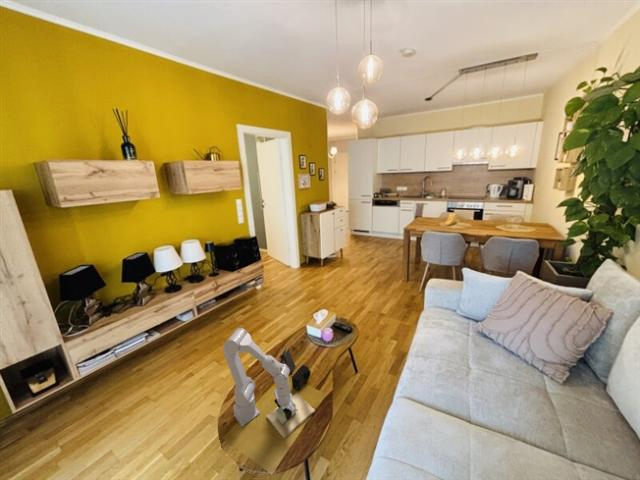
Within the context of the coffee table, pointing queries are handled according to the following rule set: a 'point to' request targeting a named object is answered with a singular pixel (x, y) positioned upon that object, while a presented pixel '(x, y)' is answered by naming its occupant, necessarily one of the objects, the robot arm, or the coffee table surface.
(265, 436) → the coffee table surface
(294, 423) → the birch board
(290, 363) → the phone stand
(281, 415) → the block
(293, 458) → the coffee table surface
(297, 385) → the digital camera
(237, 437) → the coffee table surface
